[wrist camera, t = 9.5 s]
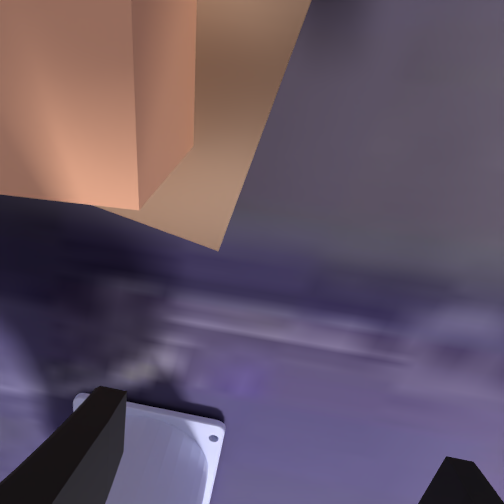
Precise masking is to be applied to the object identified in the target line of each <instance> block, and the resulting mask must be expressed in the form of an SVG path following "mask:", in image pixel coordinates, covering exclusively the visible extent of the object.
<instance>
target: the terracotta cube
mask: <svg viewBox="0 0 504 504" xmlns="http://www.w3.org/2000/svg"><path fill="white" fill-rule="evenodd" d="M196 16H197V0H0V194H1V195H9V196H18V197H27V198H35V199H44V200H52V201H61V202H70V203H78V204H87V205H96V206H104V207H113V208H122V209H130V210H140V209H141V208H142V206H143V205H144V204H145V203H146V202H147V200H148V199H149V198H150V197H151V196H152V195H153V193H154V192H155V191H156V190H157V189H158V187H159V186H160V185H161V184H162V183H163V182H164V180H165V179H166V178H167V177H168V176H169V174H170V173H171V172H172V171H173V170H174V168H175V167H176V166H177V165H178V164H179V163H180V161H181V160H182V159H183V158H184V157H185V155H186V154H187V153H188V152H189V151H190V149H191V148H192V147H193V145H194V102H195V59H196Z"/></svg>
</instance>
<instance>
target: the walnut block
mask: <svg viewBox="0 0 504 504" xmlns="http://www.w3.org/2000/svg"><path fill="white" fill-rule="evenodd" d="M310 3H311V0H197V16H196V59H195V102H194V145H193V147H192V148H191V149H190V151H189V152H188V153H187V154H186V155H185V157H184V158H183V159H182V160H181V161H180V163H179V164H178V165H177V166H176V167H175V168H174V170H173V171H172V172H171V173H170V174H169V176H168V177H167V178H166V179H165V180H164V182H163V183H162V184H161V185H160V186H159V187H158V189H157V190H156V191H155V192H154V193H153V195H152V196H151V197H150V198H149V199H148V200H147V202H146V203H145V204H144V205H143V206H142V208H141V209H140V210H130V209H122V208H113V207H104V206H96V205H93V206H96V207H99V208H102V209H104V210H107V211H110V212H113V213H115V214H118V215H121V216H124V217H126V218H129V219H132V220H135V221H137V222H140V223H143V224H145V225H148V226H151V227H154V228H156V229H159V230H162V231H165V232H167V233H170V234H173V235H176V236H178V237H181V238H184V239H187V240H189V241H192V242H195V243H198V244H200V245H203V246H206V247H209V248H211V249H214V250H217V251H219V248H220V245H221V243H222V240H223V237H224V234H225V232H226V229H227V226H228V224H229V221H230V218H231V216H232V213H233V210H234V208H235V205H236V202H237V199H238V197H239V194H240V191H241V189H242V186H243V183H244V181H245V178H246V175H247V172H248V170H249V167H250V164H251V162H252V159H253V156H254V154H255V151H256V148H257V146H258V143H259V140H260V137H261V135H262V132H263V129H264V127H265V124H266V121H267V119H268V116H269V113H270V111H271V108H272V105H273V102H274V100H275V97H276V94H277V92H278V89H279V86H280V84H281V81H282V78H283V75H284V73H285V70H286V67H287V65H288V62H289V59H290V57H291V54H292V51H293V49H294V46H295V43H296V40H297V38H298V35H299V32H300V30H301V27H302V24H303V22H304V19H305V16H306V13H307V11H308V8H309V5H310Z"/></svg>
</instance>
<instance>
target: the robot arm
mask: <svg viewBox="0 0 504 504" xmlns="http://www.w3.org/2000/svg"><path fill="white" fill-rule="evenodd" d="M224 434H225V425H224V423H223V422H221V421H219V420H215V419H210V418H205V417H200V416H196V415H191V414H186V413H181V412H176V411H171V410H166V409H161V408H156V407H151V406H146V405H141V404H137V403H132V402H127V391H123V390H118V389H113V388H108V387H103V386H99V387H97V388H95V389H94V390H93V392H92V393H91V394H87V393H79V394H77V395H76V397H75V399H74V401H73V413H72V414H71V415H70V416H69V417H68V418H67V420H66V421H65V422H64V423H63V424H62V425H61V426H60V427H59V428H58V429H57V430H56V431H55V432H54V433H53V434H52V435H51V436H50V437H49V438H48V439H47V440H46V441H44V442H43V443H42V444H41V445H40V446H39V447H38V448H37V449H36V450H35V451H34V452H33V453H32V454H31V455H30V456H29V457H28V458H27V459H26V460H25V461H23V462H22V463H21V464H20V465H19V466H18V467H17V468H16V469H15V470H14V471H13V472H12V473H11V474H9V475H8V476H7V477H6V478H5V479H4V480H3V481H2V482H0V504H209V502H210V498H211V493H212V489H213V484H214V479H215V475H216V470H217V466H218V461H219V457H220V452H221V447H222V443H223V438H224ZM214 435H215V436H214ZM418 504H504V502H503V501H502V500H501V498H500V497H499V496H498V494H497V493H496V491H495V490H494V489H493V487H492V486H491V485H490V483H489V482H488V481H487V479H486V478H485V476H484V475H483V474H482V472H481V471H480V470H479V469H478V467H477V466H476V465H475V463H474V462H472V461H467V460H462V459H457V458H452V457H447V456H446V458H445V459H444V461H443V463H442V464H441V466H440V468H439V469H438V471H437V473H436V475H435V476H434V478H433V480H432V481H431V483H430V485H429V486H428V488H427V490H426V491H425V493H424V495H423V496H422V498H421V500H420V501H419V503H418Z"/></svg>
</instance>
